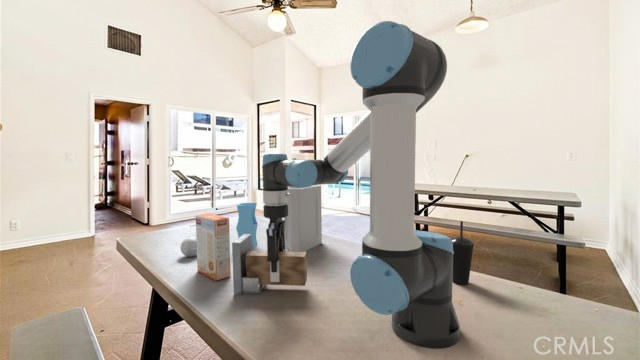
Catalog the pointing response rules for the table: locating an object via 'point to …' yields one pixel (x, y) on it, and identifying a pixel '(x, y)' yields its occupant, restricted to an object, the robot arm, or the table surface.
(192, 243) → the bath bomb
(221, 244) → the cracker box
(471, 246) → the drinking cup
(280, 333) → the table surface
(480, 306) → the table surface
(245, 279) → the bracket
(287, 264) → the rail
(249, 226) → the vase
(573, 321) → the table surface
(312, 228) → the white triangular prism
